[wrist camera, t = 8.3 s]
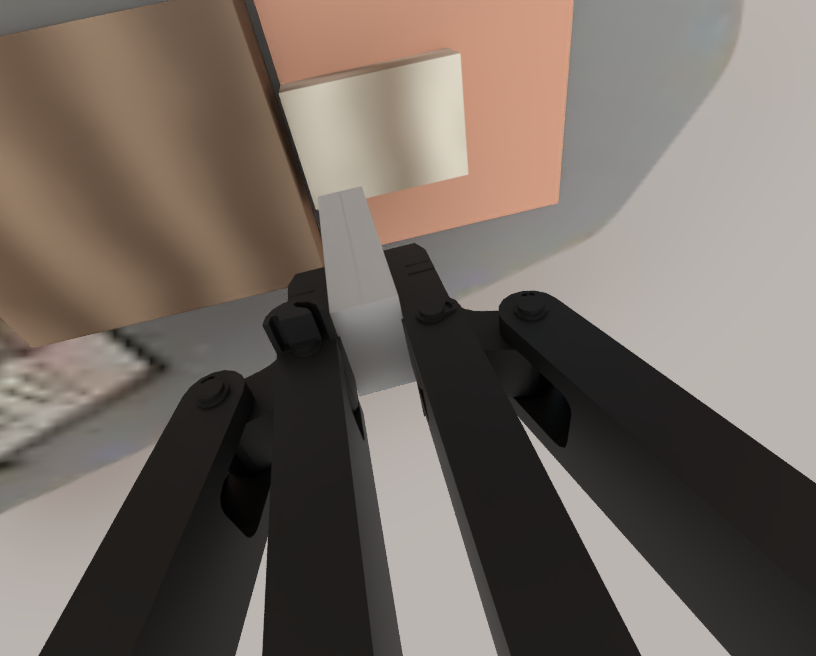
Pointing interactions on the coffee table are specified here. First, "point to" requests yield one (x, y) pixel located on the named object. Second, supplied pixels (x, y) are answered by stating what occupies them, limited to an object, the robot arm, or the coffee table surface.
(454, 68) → the birch tile
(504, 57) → the terracotta mat
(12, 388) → the coffee table surface
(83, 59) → the block
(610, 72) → the coffee table surface
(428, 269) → the robot arm
